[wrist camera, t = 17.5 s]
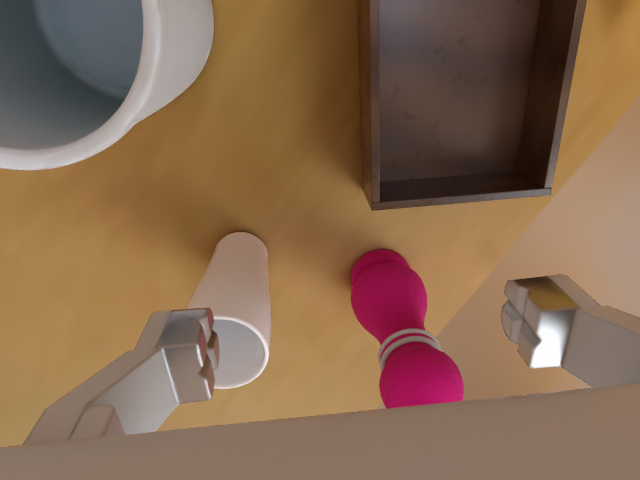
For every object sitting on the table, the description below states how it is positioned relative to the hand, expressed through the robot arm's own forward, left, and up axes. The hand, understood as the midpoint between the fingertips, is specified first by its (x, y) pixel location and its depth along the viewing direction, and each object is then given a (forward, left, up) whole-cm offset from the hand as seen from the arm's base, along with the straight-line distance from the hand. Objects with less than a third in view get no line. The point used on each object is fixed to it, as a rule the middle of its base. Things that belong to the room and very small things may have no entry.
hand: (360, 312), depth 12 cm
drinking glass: (+13, -8, -29) cm, 33 cm away
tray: (-4, +12, -29) cm, 32 cm away
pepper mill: (+17, +6, -29) cm, 34 cm away
